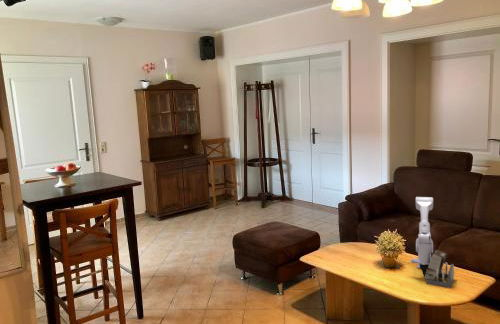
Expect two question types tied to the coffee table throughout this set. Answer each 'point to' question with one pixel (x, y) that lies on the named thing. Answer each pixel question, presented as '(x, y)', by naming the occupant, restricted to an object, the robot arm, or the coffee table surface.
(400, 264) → the coffee table surface
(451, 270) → the slot rack
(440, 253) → the coffee box
